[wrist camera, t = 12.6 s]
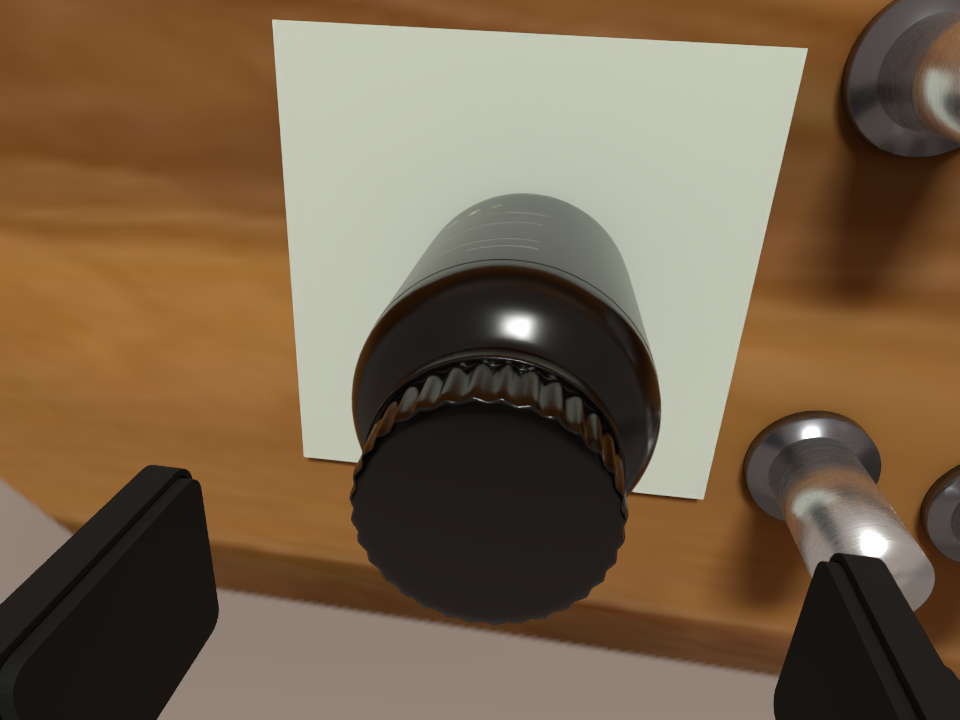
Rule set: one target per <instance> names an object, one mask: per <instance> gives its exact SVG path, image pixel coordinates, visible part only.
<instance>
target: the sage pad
mask: <svg viewBox="0 0 960 720" xmlns="http://www.w3.org/2000/svg"><path fill="white" fill-rule="evenodd" d="M272 24H273V38H274V52H275V65H276V79H277V93H278V107H279V120H280V134H281V148H282V162H283V175H284V189H285V203H286V217H287V230H288V244H289V258H290V272H291V285H292V299H293V313H294V327H295V340H296V354H297V368H298V382H299V395H300V409H301V423H302V437H303V450H304V457H310V458H319V459H329V460H338V461H347V462H357V463H358V461H359V459H360V457H361V455H362V450H361V447H360V445H359V442H358V439H357V435H356V431H355V427H354V422H353V415H352V385H353V377H354V372H355V367H356V364H357V361H358V358H359V355H360V352H361V350H362V348H363V346H364V344H365V341H366V339H367V337H368V336H369V334H370V332H371V330H372V328H373V327H374V325H375V323H376V322H377V320H378V319H379V317H380V316H381V314H382V313H383V311H384V310H385V308H386V307H387V306H388V304H389V303H390V301H391V300H392V298H393V297H394V296H395V294H396V293H397V291H398V290H399V288H400V287H401V285H402V284H403V283H404V281H405V280H406V278H407V277H408V275H409V274H410V272H411V271H412V270H413V268H414V267H415V265H416V264H417V262H418V261H419V260H420V258H421V257H422V255H423V254H424V252H425V251H426V249H427V248H428V247H429V245H430V244H431V243H432V241H433V240H434V239H435V237H436V236H437V235H438V234H439V232H440V231H441V230H442V229H443V228H444V227H445V226H446V225H447V224H448V223H449V222H450V221H451V220H452V219H453V218H455V217H456V216H457V215H459V214H460V213H461V212H463V211H464V210H466V209H468V208H469V207H471V206H473V205H475V204H477V203H479V202H482V201H484V200H487V199H490V198H493V197H497V196H501V195H507V194H515V193H530V194H539V195H545V196H550V197H553V198H557V199H560V200H562V201H565V202H567V203H570V204H572V205H573V206H575V207H577V208H579V209H581V210H582V211H584V212H585V213H587V214H588V215H589V216H591V217H592V218H593V219H594V220H596V221H597V222H598V223H599V224H600V225H601V226H602V227H603V228H604V229H605V231H606V232H607V233H608V234H609V236H610V237H611V238H612V240H613V241H614V243H615V244H616V246H617V248H618V250H619V252H620V253H621V255H622V258H623V260H624V263H625V265H626V268H627V271H628V274H629V277H630V280H631V284H632V287H633V291H634V294H635V297H636V301H637V304H638V308H639V311H640V315H641V318H642V322H643V325H644V329H645V332H646V336H647V339H648V343H649V346H650V349H651V353H652V356H653V360H654V364H655V368H656V371H657V375H658V381H659V388H660V395H661V424H660V431H659V436H658V441H657V444H656V447H655V451H654V454H653V456H652V459H651V461H650V463H649V465H648V468H647V469H646V471H645V473H644V474H643V476H642V478H641V480H640V481H639V483H638V484H637V485H636V487H635V488H634V489H633V491H632V492H637V493H646V494H656V495H665V496H674V497H684V498H693V499H702V500H703V499H704V495H705V490H706V486H707V482H708V477H709V473H710V469H711V464H712V460H713V456H714V452H715V447H716V443H717V439H718V434H719V430H720V426H721V421H722V417H723V413H724V408H725V404H726V400H727V395H728V391H729V387H730V382H731V378H732V374H733V370H734V365H735V361H736V357H737V352H738V348H739V344H740V339H741V335H742V331H743V326H744V322H745V318H746V313H747V309H748V305H749V301H750V296H751V292H752V288H753V283H754V279H755V275H756V270H757V266H758V262H759V257H760V253H761V249H762V244H763V240H764V236H765V232H766V227H767V223H768V219H769V214H770V210H771V206H772V201H773V197H774V193H775V188H776V184H777V180H778V175H779V171H780V167H781V163H782V158H783V154H784V150H785V145H786V141H787V137H788V132H789V128H790V124H791V119H792V115H793V111H794V106H795V102H796V98H797V94H798V89H799V85H800V81H801V76H802V72H803V68H804V63H805V59H806V55H807V50H808V48H791V47H772V46H753V45H735V44H716V43H698V42H679V41H660V40H642V39H623V38H605V37H586V36H567V35H549V34H530V33H512V32H493V31H474V30H456V29H437V28H419V27H400V26H381V25H363V24H344V23H326V22H307V21H288V20H272Z"/></svg>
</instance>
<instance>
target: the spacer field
mask: <svg viewBox="0 0 960 720" xmlns="http://www.w3.org/2000/svg"><path fill="white" fill-rule="evenodd" d="M842 98H843V104H844V109H845V112H846V114H847V117H848V120H849V121H850V123H851V125H852V127H853V128H854V129H855V131H856V132H857V133H858V134H859V135H860V136H861V137H862V138H863V139H864V140H865V141H867V142H868V143H870V144H871V145H873V146H875V147H877V148H879V149H881V150H884V151H887V152H890V153H893V154H897V155H900V156H907V157H928V156H935V155H939V154H943V153H946V152H949V151H952V150H954V149H957V148H959V147H960V0H894V1H892V2H891V3H889V4H888V5H887V6H885V7H884V8H883V9H882V10H881V11H880V12H879V13H877V14H876V15H875V16H874V17H873V19H872V20H871V21H870V22H869V23H868V24H867V25H866V27H865V28H864V29H863V31H862V32H861V33H860V35H859V36H858V38H857V40H856V42H855V43H854V45H853V47H852V49H851V52H850V54H849V56H848V59H847V62H846V65H845V69H844V74H843V81H842ZM880 472H881V459H880V455H879V452H878V450H877V447H876V446H875V444H874V443H873V441H872V440H871V438H870V437H869V436H868V434H867V433H866V432H865V431H864V430H863V429H862V427H861V426H859V425H858V424H857V423H856V422H854V421H853V420H851V419H849V418H847V417H845V416H843V415H840V414H837V413H833V412H827V411H805V412H800V413H795V414H792V415H789V416H786V417H784V418H781V419H779V420H777V421H775V422H774V423H772V424H771V425H769V426H768V427H766V428H765V429H764V430H763V431H762V432H760V434H759V435H758V436H757V437H756V438H755V439H754V441H753V442H752V443H751V445H750V447H749V449H748V451H747V453H746V456H745V461H744V477H745V480H746V483H747V486H748V488H749V491H750V493H751V495H752V497H753V499H754V501H755V502H756V503H757V505H758V506H759V507H760V508H761V509H762V510H763V511H765V512H766V513H767V514H769V515H771V516H773V517H774V518H777V519H779V520H781V521H785V522H786V523H787V525H788V528H789V530H790V532H791V534H792V536H793V539H794V541H795V543H796V545H797V547H798V549H799V552H800V554H801V556H802V558H803V560H804V563H805V565H806V567H807V569H808V571H809V574H810V576H811V578H812V577H813V574H814V571H815V568H816V566H817V564H818V563H819V562H820V561H827V562H829V560H830V558H831V556H832V555H833V554H834V553H845V554H853V555H861V556H869V557H877V558H879V559H881V560H882V561H883V562H884V563H885V564H886V566H887V567H888V569H889V571H890V573H891V574H892V576H893V578H894V579H895V581H896V583H897V585H898V586H899V588H900V590H901V592H902V593H903V595H904V597H905V598H906V600H907V602H908V604H909V605H910V607H911V609H912V610H913V611H915V610H916V609H918V608H919V607H920V606H921V605H922V604H923V603H924V602H925V601H926V600H927V598H928V597H929V596H930V594H931V592H932V590H933V587H934V582H935V573H934V569H933V567H932V564H931V563H930V561H929V560H928V558H927V557H926V555H925V554H924V552H923V551H922V550H921V548H920V547H919V545H918V544H917V542H916V541H915V540H914V538H913V537H912V535H911V534H910V532H909V531H908V530H907V528H906V527H905V525H904V524H903V522H902V521H901V519H900V518H899V517H898V515H897V514H896V512H895V511H894V509H893V508H892V507H891V505H890V504H889V502H888V501H887V499H886V498H885V497H884V495H883V494H882V492H881V491H880V489H879V488H878V487H877V483H878V480H879V477H880ZM921 521H922V526H923V528H924V530H925V532H926V534H927V535H928V537H929V538H930V539H931V541H932V542H933V544H934V545H935V546H936V548H937V549H938V550H939V551H940V552H941V553H943V554H944V555H945V556H946V557H948V558H950V559H952V560H954V561H956V562H959V563H960V465H959V466H957V467H955V468H953V469H952V470H950V471H949V472H947V473H946V474H944V475H943V476H942V477H941V478H940V479H939V480H938V481H936V483H935V484H934V485H933V486H932V487H931V489H930V490H929V492H928V493H927V495H926V497H925V499H924V501H923V505H922V509H921Z"/></svg>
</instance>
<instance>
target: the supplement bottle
mask: <svg viewBox="0 0 960 720" xmlns="http://www.w3.org/2000/svg"><path fill="white" fill-rule="evenodd" d="M352 415H353V422H354V427H355V431H356V435H357V439H358V442H359V445H360V447H361V450H362V455H361V457H360V459H359V461H358V463H357V465H356V467H355V469H354V473H353V480H354V485H353V487H352V490H351V492H350V501H351V504H352V506H353V512H352V516H351V521H352V523H353V525H354V526H355V527H356V529H357V531H358V535H357V538H358V542H359V544H360V545H361V546H362V547H363V548H364V549H365V550H366V551H367V554H368V559H369V562H371V563H372V564H373V565H374V566H376V567H377V568H378V569H380V572H381V574H382V576H383V578H384V579H385V580H386V581H388V582H390V583H392V584H394V585H395V586H396V587H397V588H398V589H399V591H400V592H401V593H402V595H405V596H407V597H410V598H412V599H415V600H416V601H417V602H418V603H419V604H420V605H421V606H423V607H424V608H428V609H433V610H437V611H438V612H440V613H441V614H443V615H444V616H446V617H456V618H461V619H463V620H465V621H468V622H470V623H475V622H486V623H490V624H493V625H499V624H503V623H506V622H511V623H518V624H521V623H524V622H526V621H528V620H530V619H545V618H546V617H548V616H549V615H551V614H552V613H553V612H558V611H564V610H567V609H568V608H569V607H570V606H571V605H572V604H573V603H574V602H575V601H578V600H581V599H584V598H586V597H587V596H588V595H589V593H590V591H591V589H592V588H593V587H595V586H597V585H599V584H600V583H602V582H603V581H604V578H605V574H606V571H607V570H608V569H609V568H611V567H612V566H613V565H614V564H615V563H616V560H617V550H618V549H619V548H620V547H621V546H622V544H623V543H624V540H625V528H624V526H625V524H626V521H627V518H628V505H627V497H628V495H629V494H630V493H631V492H632V491H633V489H634V488H635V487H636V485H637V484H638V483H639V481H640V480H641V478H642V476H643V474H644V473H645V471H646V469H647V468H648V465H649V463H650V461H651V459H652V456H653V454H654V451H655V447H656V444H657V441H658V436H659V431H660V424H661V395H660V388H659V381H658V375H657V371H656V368H655V364H654V360H653V356H652V353H651V349H650V346H649V343H648V339H647V336H646V332H645V329H644V325H643V322H642V318H641V315H640V311H639V308H638V304H637V301H636V297H635V294H634V291H633V287H632V284H631V280H630V277H629V274H628V271H627V268H626V265H625V263H624V260H623V258H622V255H621V253H620V252H619V250H618V248H617V246H616V244H615V243H614V241H613V240H612V238H611V237H610V236H609V234H608V233H607V232H606V231H605V229H604V228H603V227H602V226H601V225H600V224H599V223H598V222H597V221H596V220H594V219H593V218H592V217H591V216H589V215H588V214H587V213H585V212H584V211H582V210H581V209H579V208H577V207H575V206H573V205H572V204H570V203H567V202H565V201H562V200H560V199H557V198H553V197H550V196H545V195H539V194H530V193H515V194H507V195H501V196H497V197H493V198H490V199H487V200H484V201H482V202H479V203H477V204H475V205H473V206H471V207H469V208H468V209H466V210H464V211H463V212H461V213H460V214H459V215H457V216H456V217H455V218H453V219H452V220H451V221H450V222H449V223H448V224H447V225H446V226H445V227H444V228H443V229H442V230H441V231H440V232H439V234H438V235H437V236H436V237H435V239H434V240H433V241H432V243H431V244H430V245H429V247H428V248H427V249H426V251H425V252H424V254H423V255H422V257H421V258H420V260H419V261H418V262H417V264H416V265H415V267H414V268H413V270H412V271H411V272H410V274H409V275H408V277H407V278H406V280H405V281H404V283H403V284H402V285H401V287H400V288H399V290H398V291H397V293H396V294H395V296H394V297H393V298H392V300H391V301H390V303H389V304H388V306H387V307H386V308H385V310H384V311H383V313H382V314H381V316H380V317H379V319H378V320H377V322H376V323H375V325H374V327H373V328H372V330H371V332H370V334H369V336H368V337H367V339H366V341H365V344H364V346H363V348H362V350H361V352H360V355H359V358H358V361H357V364H356V367H355V372H354V377H353V385H352Z"/></svg>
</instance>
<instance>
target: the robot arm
mask: <svg viewBox="0 0 960 720" xmlns="http://www.w3.org/2000/svg"><path fill="white" fill-rule="evenodd" d="M218 613H219V606H218V599H217V592H216V585H215V578H214V572H213V565H212V558H211V551H210V544H209V538H208V531H207V524H206V517H205V510H204V504H203V497H202V490H201V486H200V483H199V482H198V481H197V480H194V479H192V476H191V474H190V472H189V471H188V470H186V469H181V468H174V467H166V466H158V465H149V466H147V467H145V468H144V469H142V470H141V471H140V472H139V473H138V474H137V475H136V476H135V477H134V478H133V479H132V480H131V481H130V482H129V483H128V484H127V485H126V486H125V487H123V488H122V489H121V490H120V491H119V492H118V493H117V494H116V495H115V496H114V497H113V498H112V499H111V500H110V501H109V502H108V503H107V504H106V505H105V506H104V507H102V508H101V509H100V510H99V511H98V512H97V513H96V514H95V515H94V516H93V517H92V518H91V519H90V520H89V521H88V522H87V523H86V524H85V525H84V526H82V527H81V528H80V529H79V530H78V531H77V532H76V533H75V534H74V535H73V536H72V537H71V538H70V539H69V540H68V541H67V542H66V543H65V544H64V545H62V547H60V549H58V550H57V551H56V552H55V553H54V554H53V555H52V556H51V557H50V558H49V559H48V560H47V561H46V562H45V563H44V564H43V565H42V566H40V567H39V568H38V569H37V570H36V571H35V572H34V573H33V574H32V575H31V576H30V577H29V578H28V579H27V580H26V581H25V582H24V583H23V584H22V585H20V586H19V587H18V588H17V589H16V590H15V591H14V592H13V593H12V594H11V595H10V596H9V597H8V598H7V599H6V600H5V601H4V602H3V603H1V604H0V720H157V718H158V717H159V715H160V713H161V712H162V710H163V709H164V707H165V706H166V704H167V702H168V701H169V699H170V698H171V696H172V695H173V693H174V692H175V690H176V688H177V687H178V685H179V683H180V682H181V681H182V679H183V677H184V676H185V674H186V673H187V671H188V669H189V668H190V666H191V665H192V663H193V662H194V660H195V658H196V657H197V656H198V654H199V652H200V651H201V649H202V648H203V646H204V644H205V643H206V641H207V640H208V638H209V637H210V635H211V634H212V632H213V630H214V628H215V625H216V623H217V618H218ZM774 715H775V719H776V720H960V680H959V679H958V678H957V677H956V675H955V674H954V673H953V671H952V670H950V669H949V668H948V667H946V666H945V665H944V664H943V662H942V660H941V659H940V657H939V655H938V654H937V652H936V650H935V648H934V647H933V645H932V643H931V642H930V640H929V638H928V636H927V635H926V633H925V631H924V629H923V628H922V626H921V624H920V623H919V621H918V619H917V617H916V616H915V614H914V612H913V610H912V609H911V607H910V605H909V604H908V602H907V600H906V598H905V597H904V595H903V593H902V592H901V590H900V588H899V586H898V585H897V583H896V581H895V579H894V578H893V576H892V574H891V573H890V571H889V569H888V567H887V566H886V564H885V563H884V562H883V561H882V560H881V559H879V558H877V557H869V556H861V555H853V554H845V553H834V554H833V555H832V556H831V558H830V560H829V562H827V561H820V562H819V563H818V564H817V566H816V568H815V571H814V574H813V577H812V580H811V583H810V586H809V589H808V592H807V595H806V598H805V601H804V604H803V607H802V610H801V613H800V616H799V619H798V622H797V625H796V628H795V631H794V634H793V637H792V641H791V644H790V647H789V650H788V653H787V656H786V659H785V662H784V665H783V668H782V671H781V674H780V677H779V680H778V683H777V686H776V689H775V693H774Z"/></svg>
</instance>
